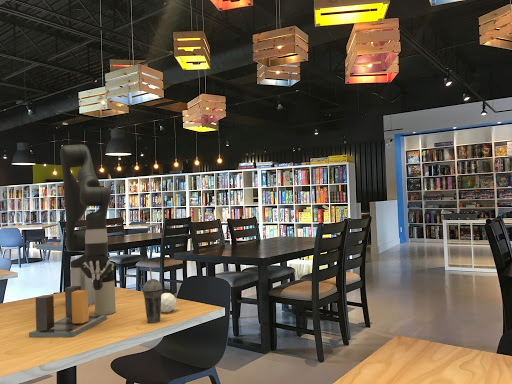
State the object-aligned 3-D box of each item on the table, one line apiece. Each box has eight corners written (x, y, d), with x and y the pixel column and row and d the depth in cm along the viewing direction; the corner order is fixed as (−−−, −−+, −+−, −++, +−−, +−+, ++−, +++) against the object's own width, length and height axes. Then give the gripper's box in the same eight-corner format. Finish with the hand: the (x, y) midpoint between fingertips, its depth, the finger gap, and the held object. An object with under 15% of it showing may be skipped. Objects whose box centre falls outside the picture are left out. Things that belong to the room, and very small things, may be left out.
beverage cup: (167, 319, 159) (165, 265, 160) (156, 324, 152) (154, 268, 153) (150, 318, 161) (149, 265, 162) (139, 323, 154) (137, 268, 155)
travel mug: (108, 315, 168) (107, 270, 169) (90, 315, 170) (89, 270, 171) (119, 310, 176) (117, 267, 177) (101, 310, 178) (100, 267, 178)
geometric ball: (167, 317, 172) (172, 299, 177) (177, 313, 167) (181, 294, 172) (150, 311, 169) (156, 292, 174) (160, 306, 164) (166, 287, 169)
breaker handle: (78, 320, 155) (77, 290, 155) (88, 320, 154) (87, 290, 155) (72, 323, 151) (71, 292, 151) (82, 323, 150) (81, 292, 151)
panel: (68, 319, 166) (67, 285, 166) (106, 318, 163) (105, 285, 164) (29, 337, 143) (28, 298, 143) (72, 337, 141) (71, 298, 141)
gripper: (118, 240, 155) (120, 287, 155) (85, 241, 157) (86, 288, 157) (108, 241, 148) (110, 291, 147) (73, 243, 150) (75, 292, 149)
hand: (97, 289), depth 152 cm, fingers closed
